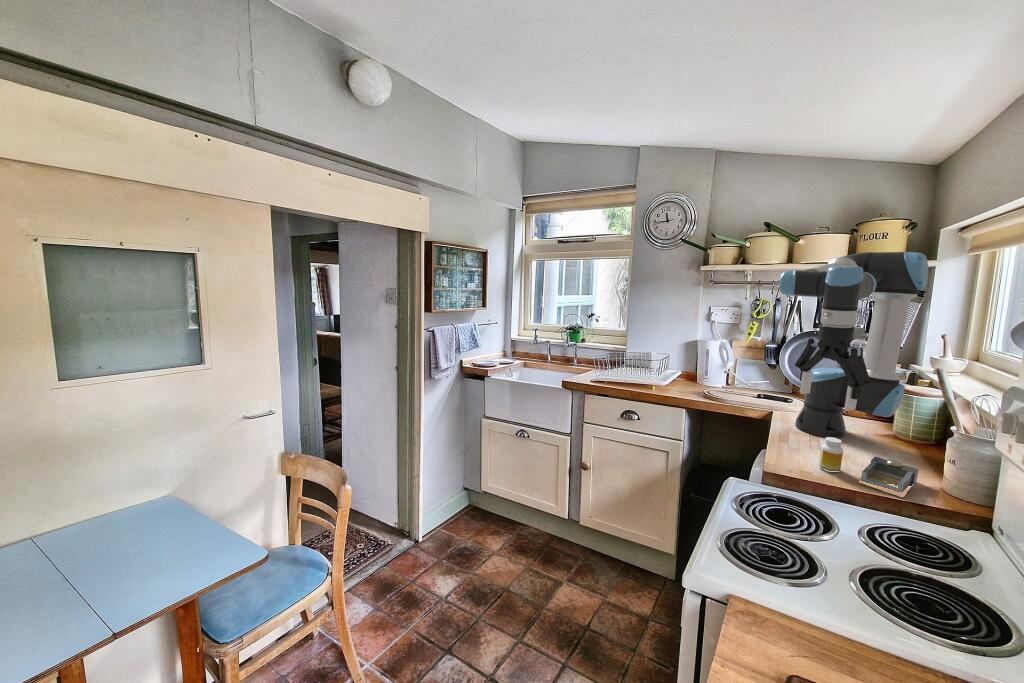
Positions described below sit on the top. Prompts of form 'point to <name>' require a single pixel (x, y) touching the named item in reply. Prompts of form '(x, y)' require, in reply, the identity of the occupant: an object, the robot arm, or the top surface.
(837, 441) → the supplement bottle
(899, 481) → the tray
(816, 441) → the top surface
